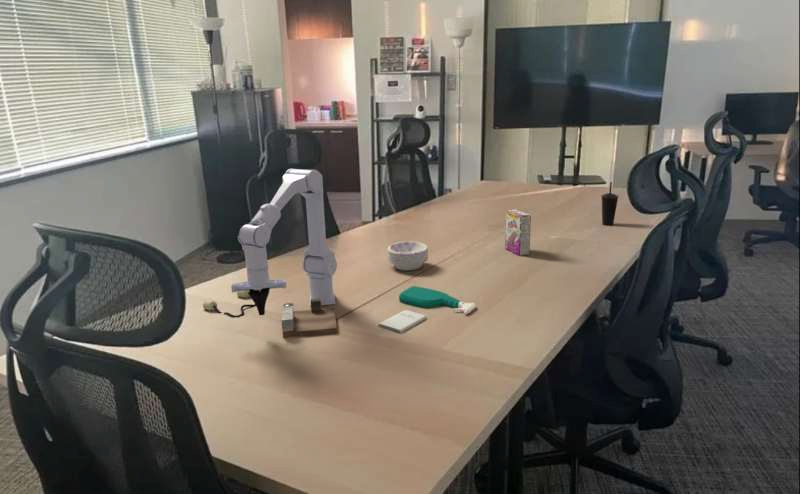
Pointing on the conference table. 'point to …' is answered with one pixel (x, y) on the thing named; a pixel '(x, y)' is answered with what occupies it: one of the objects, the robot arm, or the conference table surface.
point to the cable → (213, 306)
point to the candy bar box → (518, 232)
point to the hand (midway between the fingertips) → (262, 313)
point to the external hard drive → (402, 321)
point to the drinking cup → (609, 207)
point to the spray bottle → (433, 299)
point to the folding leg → (288, 317)
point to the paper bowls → (407, 255)
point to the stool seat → (313, 321)
